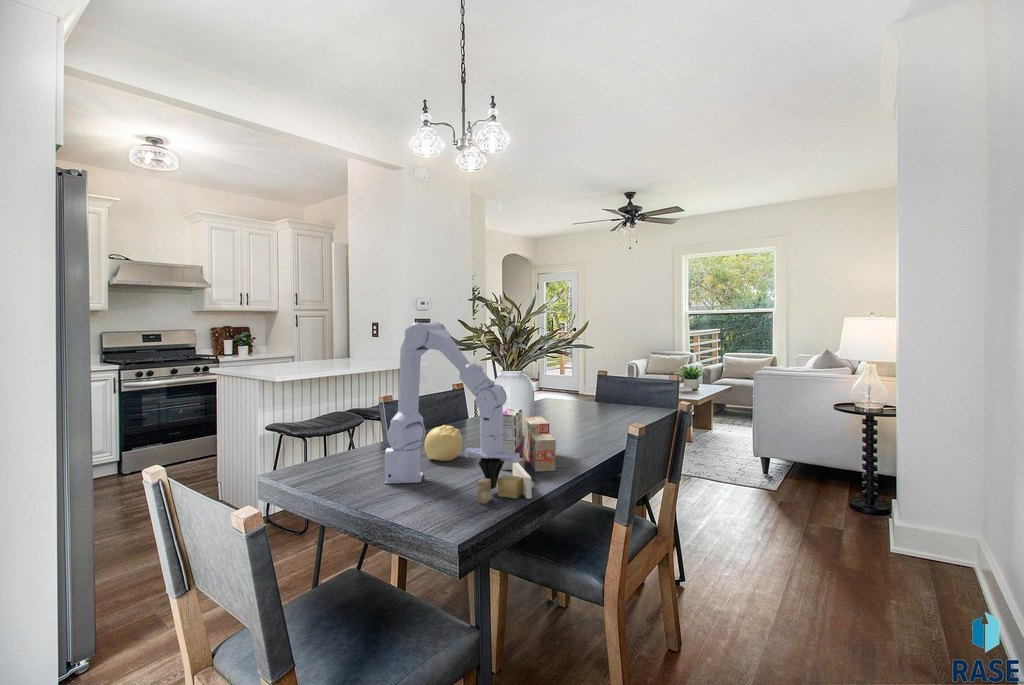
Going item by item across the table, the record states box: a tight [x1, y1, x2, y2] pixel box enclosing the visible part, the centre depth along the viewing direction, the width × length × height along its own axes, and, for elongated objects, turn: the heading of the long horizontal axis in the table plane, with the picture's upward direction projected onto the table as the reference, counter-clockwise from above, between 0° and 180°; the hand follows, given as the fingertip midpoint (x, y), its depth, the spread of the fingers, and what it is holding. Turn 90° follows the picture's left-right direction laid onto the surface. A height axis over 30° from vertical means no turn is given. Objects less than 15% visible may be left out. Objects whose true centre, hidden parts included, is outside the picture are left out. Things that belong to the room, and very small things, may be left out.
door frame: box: [477, 457, 525, 505], centre depth 126 cm, size 2×23×5 cm, turn 155°
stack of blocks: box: [523, 416, 557, 472], centre depth 151 cm, size 21×6×12 cm, turn 7°
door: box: [513, 462, 535, 499], centre depth 125 cm, size 2×15×5 cm, turn 13°
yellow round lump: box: [424, 424, 463, 462], centre depth 155 cm, size 11×12×11 cm
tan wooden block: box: [497, 474, 524, 501], centre depth 120 cm, size 5×4×4 cm
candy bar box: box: [501, 408, 524, 471], centre depth 147 cm, size 11×5×16 cm, turn 168°
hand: (492, 487), depth 123 cm, fingers closed
